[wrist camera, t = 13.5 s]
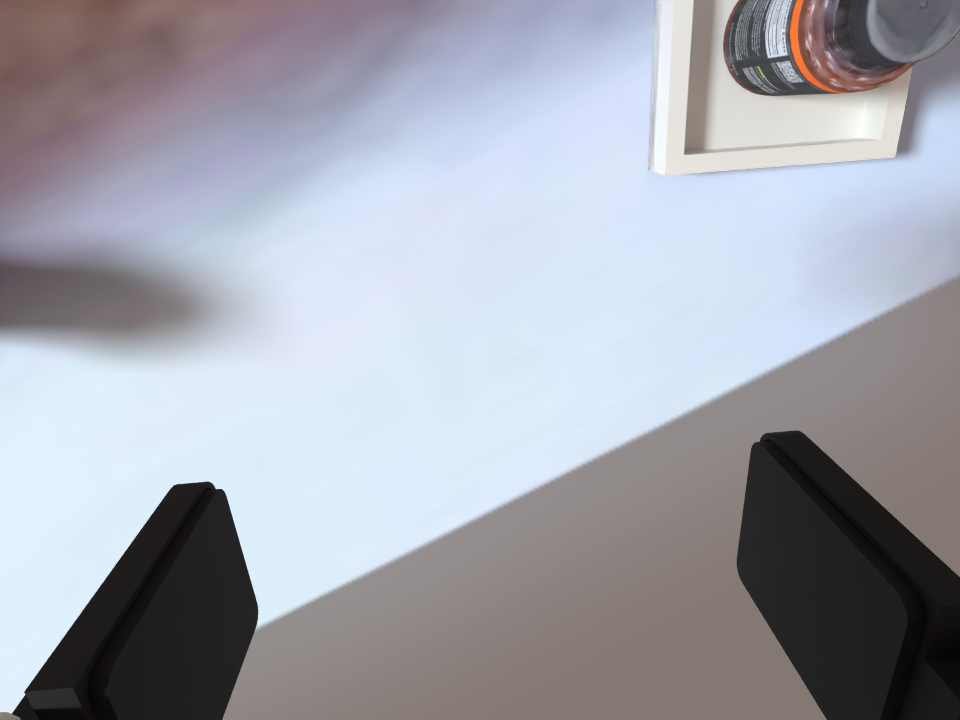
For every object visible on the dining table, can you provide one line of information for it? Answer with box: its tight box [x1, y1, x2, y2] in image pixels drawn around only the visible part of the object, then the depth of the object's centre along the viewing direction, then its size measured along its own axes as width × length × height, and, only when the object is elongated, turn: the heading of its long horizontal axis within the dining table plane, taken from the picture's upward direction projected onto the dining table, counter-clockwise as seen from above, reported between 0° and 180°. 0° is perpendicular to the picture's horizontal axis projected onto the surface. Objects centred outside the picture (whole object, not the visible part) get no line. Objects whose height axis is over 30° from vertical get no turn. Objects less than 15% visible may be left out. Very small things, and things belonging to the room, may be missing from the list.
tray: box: [648, 0, 913, 175], centre depth 32 cm, size 13×13×3 cm
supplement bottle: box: [723, 0, 960, 96], centre depth 27 cm, size 6×6×11 cm
